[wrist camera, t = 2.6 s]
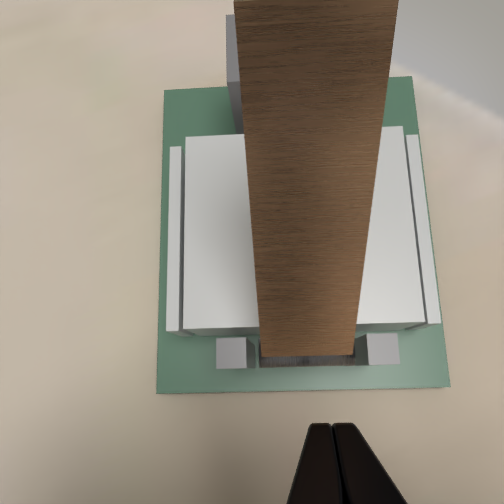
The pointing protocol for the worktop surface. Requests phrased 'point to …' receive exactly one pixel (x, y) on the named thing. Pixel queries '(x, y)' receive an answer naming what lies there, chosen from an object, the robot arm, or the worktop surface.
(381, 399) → the worktop surface
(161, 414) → the worktop surface
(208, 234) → the circuit board module
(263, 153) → the brown thin bar
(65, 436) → the worktop surface
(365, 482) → the robot arm
